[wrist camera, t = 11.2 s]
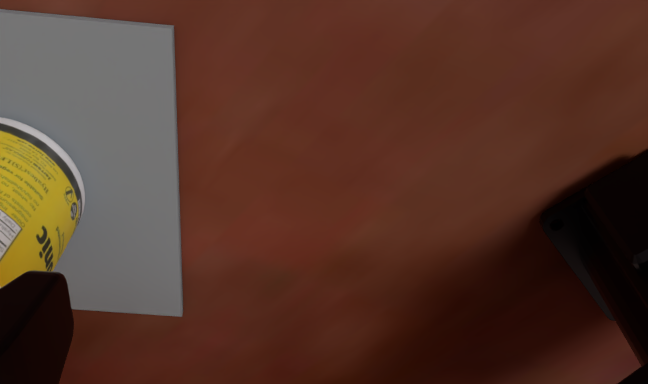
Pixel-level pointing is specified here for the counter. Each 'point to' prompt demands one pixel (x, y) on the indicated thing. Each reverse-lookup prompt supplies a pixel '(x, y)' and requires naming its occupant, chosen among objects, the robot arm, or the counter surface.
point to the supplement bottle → (35, 200)
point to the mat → (106, 148)
